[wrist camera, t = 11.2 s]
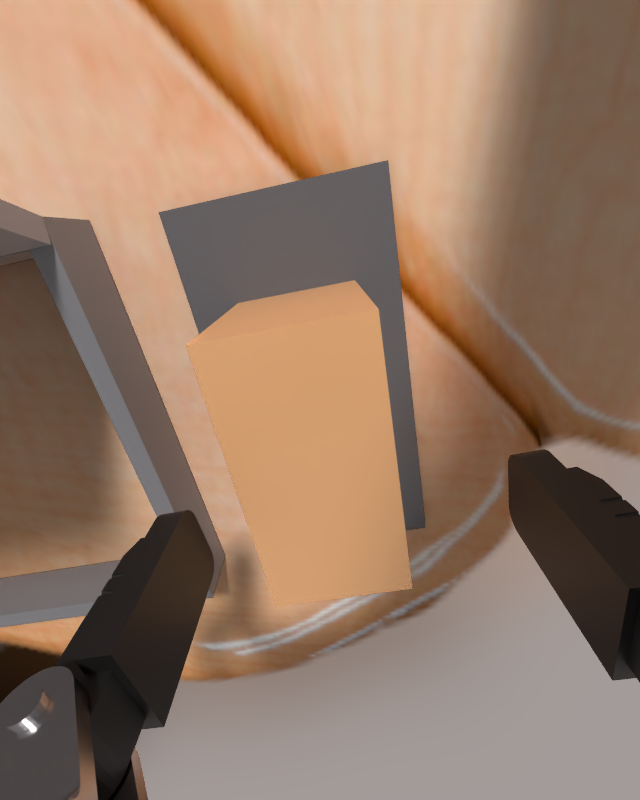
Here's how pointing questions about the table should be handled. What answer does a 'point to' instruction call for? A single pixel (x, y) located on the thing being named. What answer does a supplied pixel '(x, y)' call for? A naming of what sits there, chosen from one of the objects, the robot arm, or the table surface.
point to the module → (309, 440)
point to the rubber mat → (306, 269)
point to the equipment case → (120, 394)
